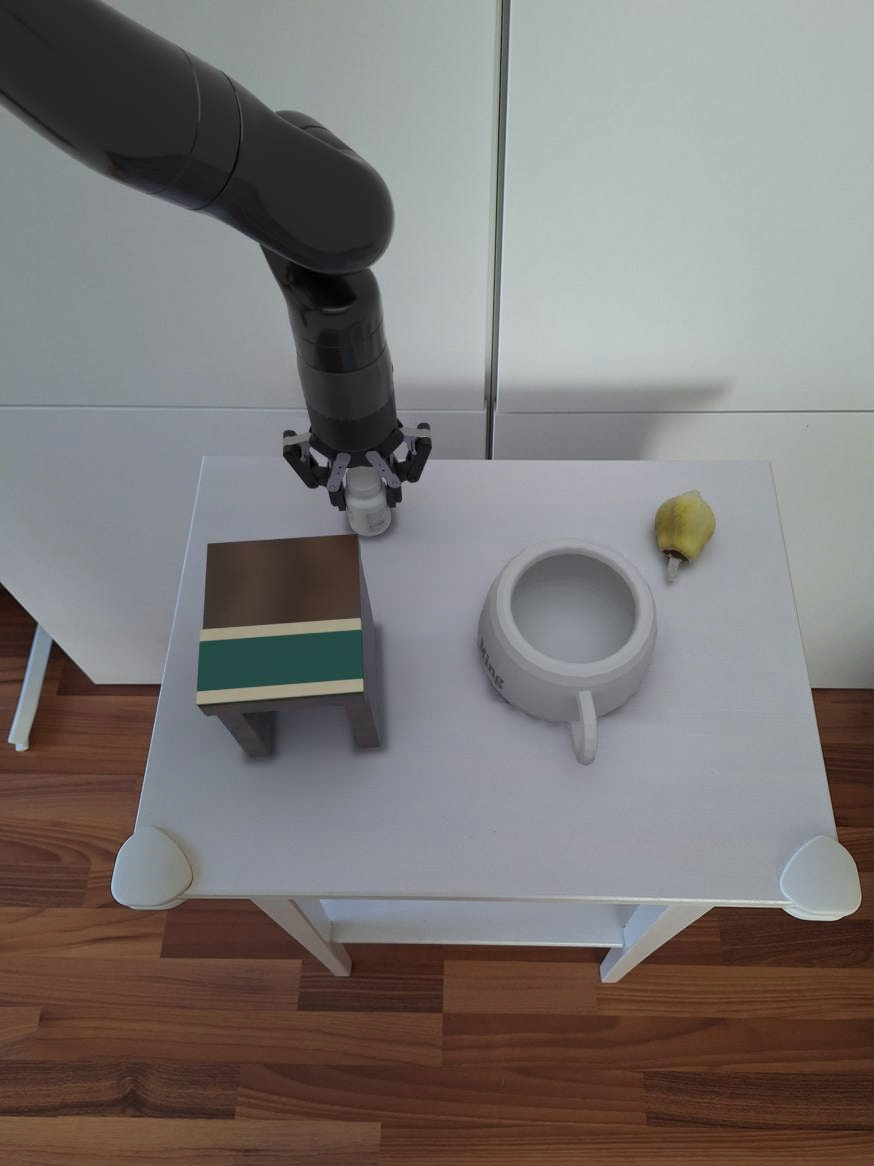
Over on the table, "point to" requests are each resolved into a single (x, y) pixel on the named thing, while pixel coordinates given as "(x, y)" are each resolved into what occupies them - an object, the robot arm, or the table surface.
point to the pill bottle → (366, 501)
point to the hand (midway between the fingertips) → (367, 501)
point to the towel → (280, 662)
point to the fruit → (683, 528)
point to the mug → (568, 634)
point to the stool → (292, 619)
